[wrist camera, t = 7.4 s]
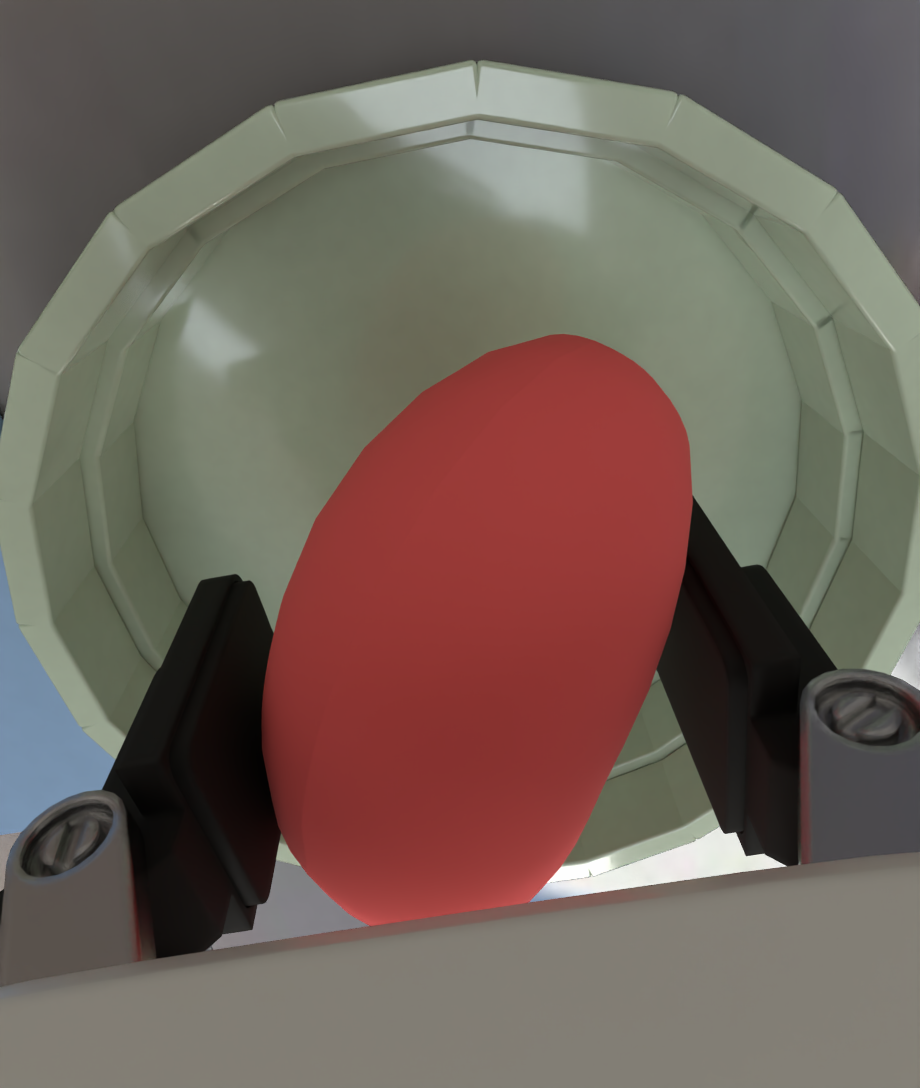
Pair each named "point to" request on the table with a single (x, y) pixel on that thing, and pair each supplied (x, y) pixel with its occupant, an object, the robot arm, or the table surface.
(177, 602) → the bowl
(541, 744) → the red oval piece
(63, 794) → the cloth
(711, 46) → the table surface
